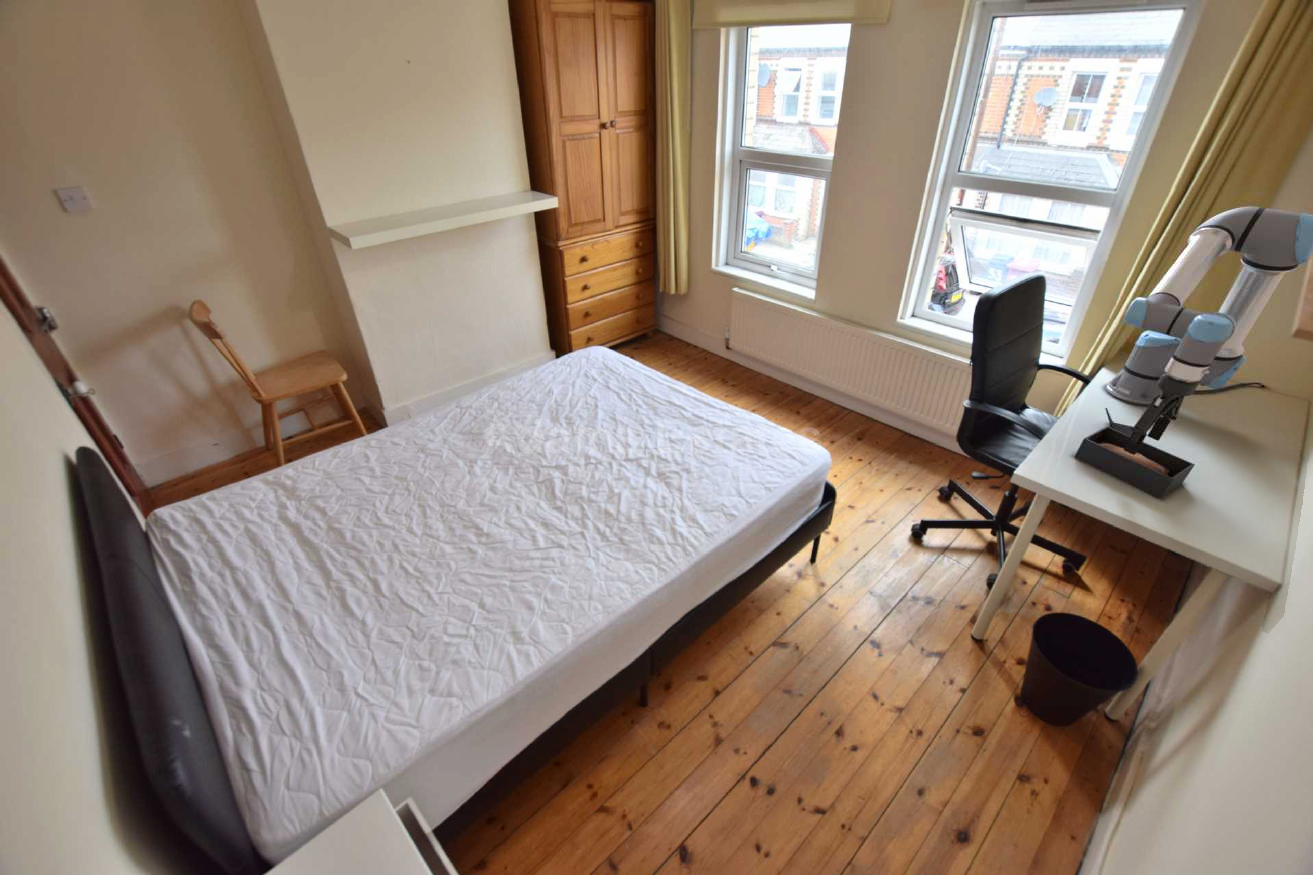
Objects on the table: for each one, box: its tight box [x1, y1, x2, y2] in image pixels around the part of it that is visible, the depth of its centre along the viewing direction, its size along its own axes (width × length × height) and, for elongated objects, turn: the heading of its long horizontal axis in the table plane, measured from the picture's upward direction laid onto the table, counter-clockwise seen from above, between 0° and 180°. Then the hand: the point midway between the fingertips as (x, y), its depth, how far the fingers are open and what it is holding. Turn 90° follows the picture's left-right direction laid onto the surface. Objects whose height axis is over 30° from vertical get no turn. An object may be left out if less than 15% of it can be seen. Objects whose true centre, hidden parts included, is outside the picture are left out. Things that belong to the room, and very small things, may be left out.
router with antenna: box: [1104, 407, 1134, 436], centre depth 177 cm, size 12×7×10 cm
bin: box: [1074, 425, 1195, 500], centre depth 161 cm, size 13×22×7 cm, turn 31°
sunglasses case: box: [1099, 442, 1169, 475], centre depth 162 cm, size 18×7×7 cm
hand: (1141, 445), depth 158 cm, fingers open, 13 cm apart
